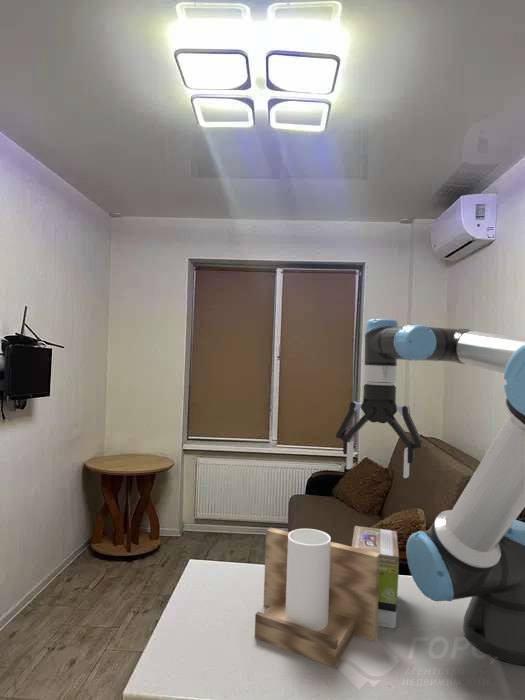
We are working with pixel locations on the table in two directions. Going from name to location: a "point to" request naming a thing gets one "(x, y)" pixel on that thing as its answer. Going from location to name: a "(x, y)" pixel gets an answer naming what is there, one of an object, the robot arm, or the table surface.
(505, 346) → the robot arm
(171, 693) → the table surface
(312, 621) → the cup
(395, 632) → the table surface
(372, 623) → the board
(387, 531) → the tea box
